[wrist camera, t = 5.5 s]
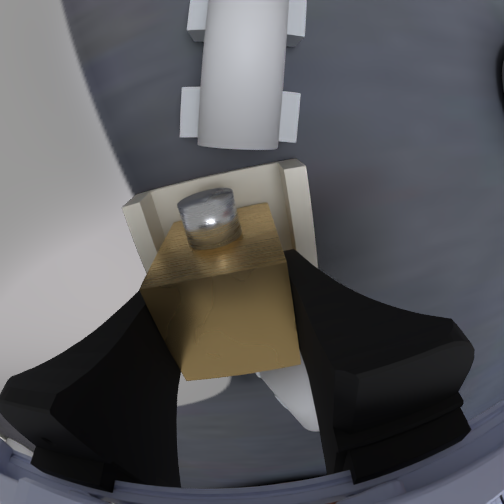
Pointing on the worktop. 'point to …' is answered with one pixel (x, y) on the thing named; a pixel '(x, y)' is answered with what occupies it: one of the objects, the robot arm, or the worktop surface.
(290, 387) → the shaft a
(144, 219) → the cradle
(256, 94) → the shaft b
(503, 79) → the soda can
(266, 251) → the block
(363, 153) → the worktop surface
